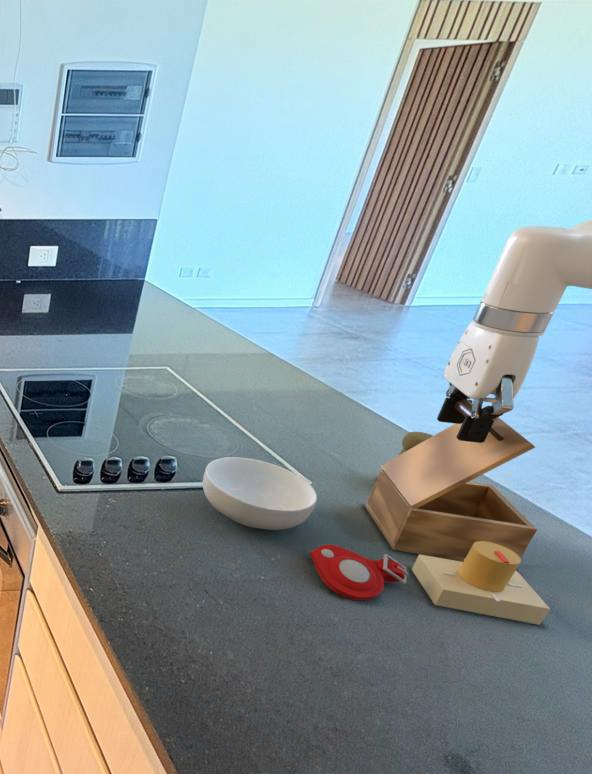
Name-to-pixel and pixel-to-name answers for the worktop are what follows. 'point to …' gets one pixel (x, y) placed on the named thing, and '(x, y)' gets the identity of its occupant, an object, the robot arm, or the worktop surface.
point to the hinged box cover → (452, 459)
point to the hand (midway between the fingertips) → (459, 430)
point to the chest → (448, 520)
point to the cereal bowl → (258, 493)
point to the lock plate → (478, 592)
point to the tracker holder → (355, 572)
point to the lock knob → (489, 566)
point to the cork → (413, 440)
